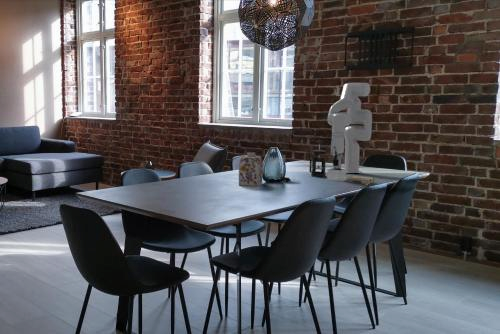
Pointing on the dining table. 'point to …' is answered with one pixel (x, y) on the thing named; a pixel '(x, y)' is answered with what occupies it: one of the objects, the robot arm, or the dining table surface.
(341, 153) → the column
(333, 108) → the robot arm
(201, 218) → the dining table surface
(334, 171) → the stand base
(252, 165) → the decorative jar
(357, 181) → the tan flat square block
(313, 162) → the black lantern
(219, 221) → the dining table surface
